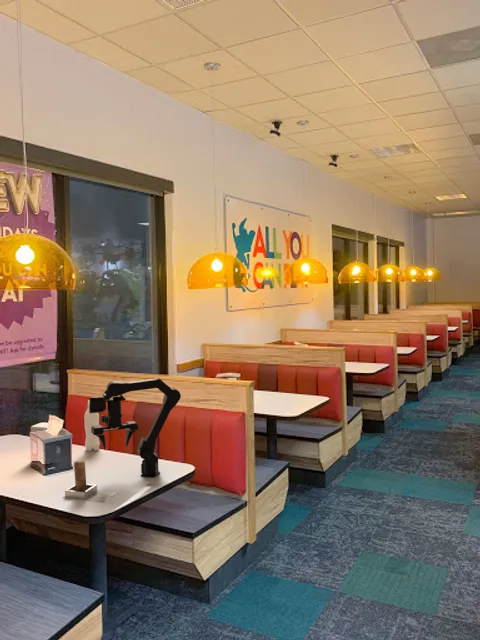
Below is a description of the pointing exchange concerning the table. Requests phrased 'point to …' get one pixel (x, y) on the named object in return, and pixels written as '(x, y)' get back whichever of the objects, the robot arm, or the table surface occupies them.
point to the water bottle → (90, 421)
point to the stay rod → (80, 475)
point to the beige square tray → (81, 492)
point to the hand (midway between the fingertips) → (115, 448)
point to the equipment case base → (97, 496)
